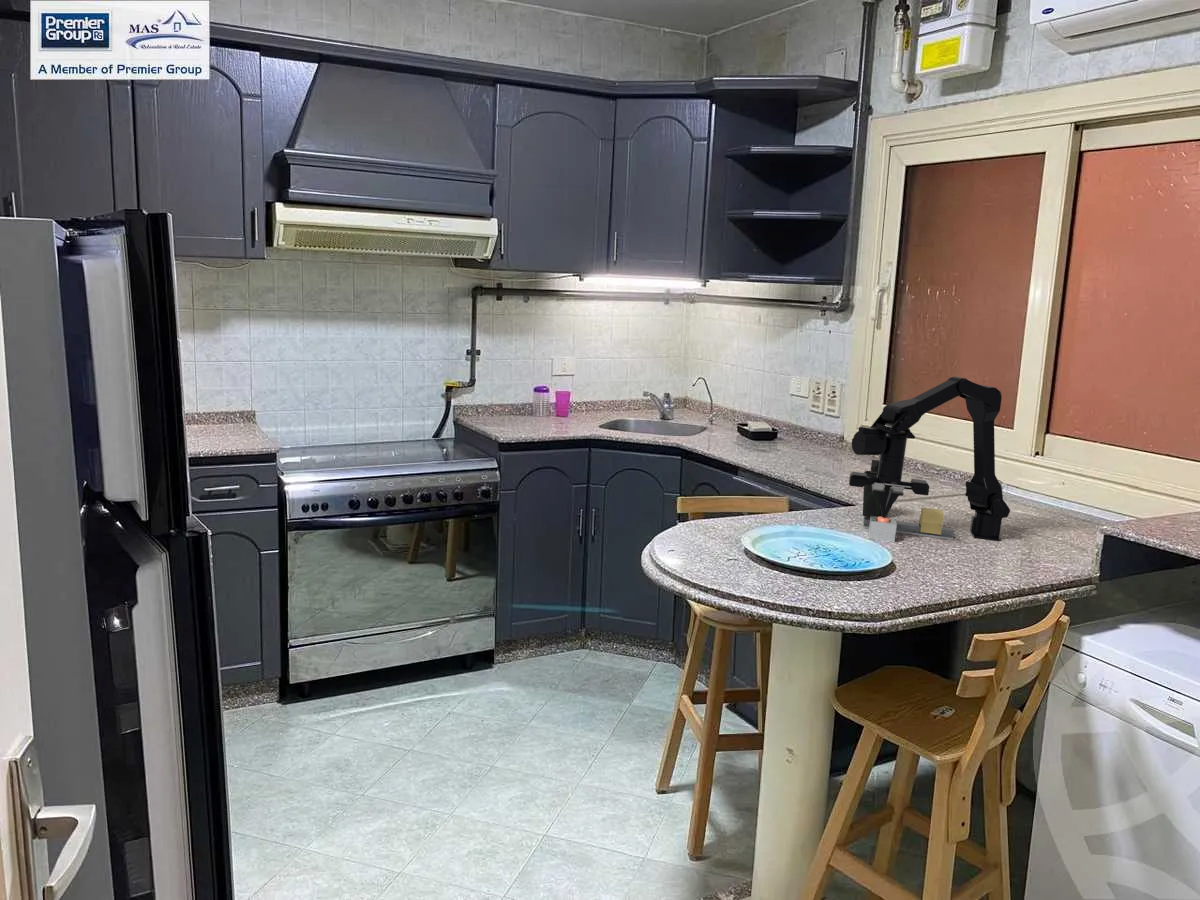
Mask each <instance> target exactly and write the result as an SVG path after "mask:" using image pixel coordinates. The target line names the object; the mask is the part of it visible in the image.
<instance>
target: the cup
mask: <svg viewBox="0 0 1200 900" xmlns="http://www.w3.org/2000/svg"><path fill="white" fill-rule="evenodd" d="M863 473H866V475H867V477H873V478H877V477H876V475H877V473H871V472H870V470H865V471H864V472H863ZM883 483H884V482H883ZM891 484H892V483H891ZM890 488H891V487H885V488H884V490H885V507H886V503H887V500H888V496H889V491H890ZM862 516H863V517H869V518H870V517H871V516H875V517H878V516H882V513H881V507H880V501H879V498H878V495H877V493H875V492H873V491H872V485H869V484H866V485H865V486H864V487H863V496H862Z"/></svg>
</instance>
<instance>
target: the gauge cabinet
mask: <svg viewBox="0 0 1200 900" xmlns="http://www.w3.org/2000/svg"><path fill="white" fill-rule="evenodd" d="M896 521H897V520H896V518H890V520H889V522H882V521H878V517H875V516H871V517H870V524H869V529H868V539H869V540H876V541H882V542H889V543H895V539H896V527H897V524H896Z"/></svg>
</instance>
